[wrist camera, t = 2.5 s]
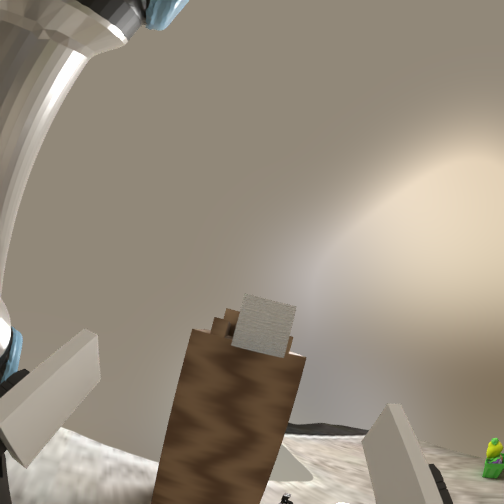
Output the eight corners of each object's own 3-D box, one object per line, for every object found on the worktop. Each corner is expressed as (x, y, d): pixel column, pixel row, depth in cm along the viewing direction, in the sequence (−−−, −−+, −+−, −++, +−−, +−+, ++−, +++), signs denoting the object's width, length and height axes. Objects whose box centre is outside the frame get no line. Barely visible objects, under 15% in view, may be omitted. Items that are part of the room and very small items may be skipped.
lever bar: (230, 345, 17) (244, 293, 18) (234, 337, 41) (239, 315, 42) (283, 358, 17) (296, 306, 18) (256, 342, 41) (262, 320, 42)
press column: (145, 531, 19) (202, 291, 29) (169, 482, 35) (214, 305, 44) (237, 553, 19) (315, 320, 28) (236, 499, 34) (288, 324, 44)
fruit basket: (500, 480, 28) (515, 443, 31) (474, 477, 35) (489, 441, 38) (502, 468, 33) (515, 435, 37) (479, 466, 41) (492, 433, 44)
